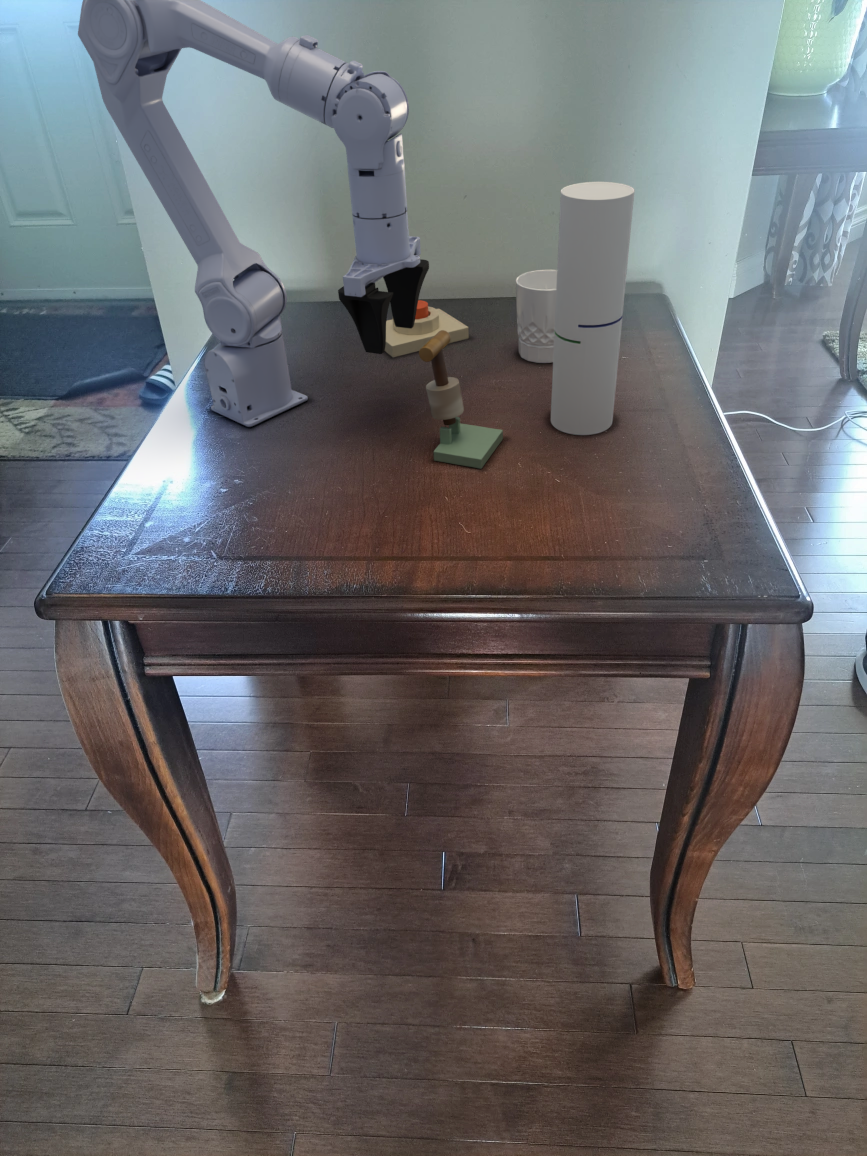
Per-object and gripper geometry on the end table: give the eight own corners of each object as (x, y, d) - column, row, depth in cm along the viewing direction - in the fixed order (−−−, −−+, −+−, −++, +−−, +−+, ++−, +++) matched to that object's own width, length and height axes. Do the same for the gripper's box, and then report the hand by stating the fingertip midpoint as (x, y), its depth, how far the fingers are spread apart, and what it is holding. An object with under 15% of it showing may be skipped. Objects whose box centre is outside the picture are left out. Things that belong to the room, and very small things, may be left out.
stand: (433, 460, 91) (432, 436, 89) (457, 431, 96) (456, 408, 94) (481, 469, 89) (481, 444, 87) (503, 439, 94) (503, 415, 92)
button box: (393, 357, 114) (391, 333, 112) (366, 336, 120) (364, 313, 118) (469, 338, 118) (468, 314, 116) (439, 319, 124) (438, 296, 122)
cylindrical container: (611, 436, 93) (633, 199, 78) (547, 433, 95) (557, 199, 79) (613, 408, 99) (634, 181, 83) (553, 405, 100) (563, 181, 85)
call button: (410, 323, 115) (409, 311, 114) (398, 315, 118) (398, 303, 117) (433, 317, 116) (432, 305, 115) (421, 310, 119) (420, 298, 118)
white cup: (572, 342, 115) (576, 268, 109) (574, 365, 109) (578, 289, 103) (515, 342, 116) (516, 269, 110) (513, 365, 110) (514, 290, 104)
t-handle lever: (408, 347, 85) (440, 346, 84) (427, 330, 89) (457, 329, 87) (426, 432, 91) (456, 432, 89) (443, 413, 94) (472, 413, 92)
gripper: (382, 234, 79) (393, 369, 87) (443, 196, 89) (447, 319, 97) (318, 229, 81) (335, 360, 90) (384, 192, 92) (394, 313, 100)
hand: (390, 339), depth 94 cm, fingers open, 7 cm apart
